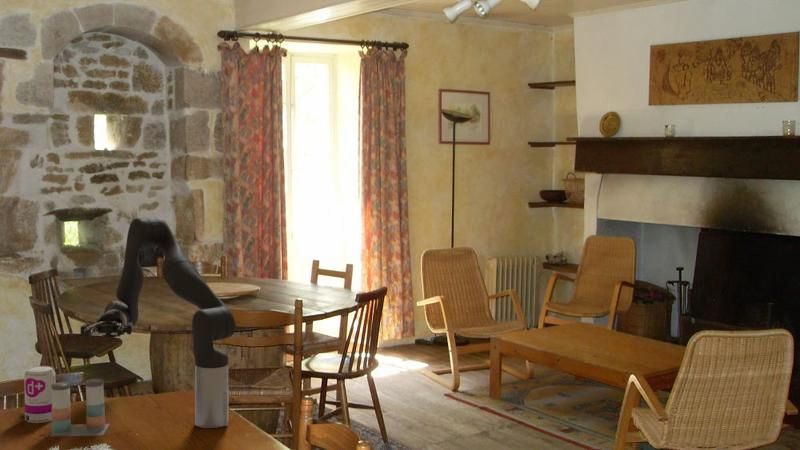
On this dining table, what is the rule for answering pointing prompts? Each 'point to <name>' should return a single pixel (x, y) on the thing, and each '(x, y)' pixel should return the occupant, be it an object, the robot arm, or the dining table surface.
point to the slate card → (83, 431)
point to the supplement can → (38, 393)
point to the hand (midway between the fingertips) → (102, 333)
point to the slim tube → (95, 404)
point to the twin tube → (61, 408)
